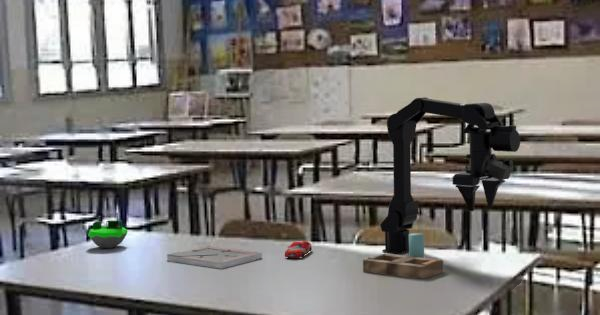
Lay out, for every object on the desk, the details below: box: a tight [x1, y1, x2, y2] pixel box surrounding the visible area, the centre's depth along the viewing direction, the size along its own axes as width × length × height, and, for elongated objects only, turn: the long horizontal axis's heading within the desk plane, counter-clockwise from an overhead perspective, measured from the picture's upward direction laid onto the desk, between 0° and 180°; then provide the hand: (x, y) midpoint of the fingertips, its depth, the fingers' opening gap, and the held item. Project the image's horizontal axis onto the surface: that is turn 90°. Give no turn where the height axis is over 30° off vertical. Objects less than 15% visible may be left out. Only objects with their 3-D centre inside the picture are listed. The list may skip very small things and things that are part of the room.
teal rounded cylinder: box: [408, 232, 425, 258], centre depth 254 cm, size 4×4×8 cm
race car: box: [284, 240, 313, 259], centre depth 272 cm, size 13×5×4 cm, turn 162°
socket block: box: [362, 252, 444, 280], centre depth 245 cm, size 18×10×3 cm, turn 51°
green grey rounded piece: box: [87, 212, 128, 249], centre depth 294 cm, size 12×12×11 cm
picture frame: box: [166, 245, 263, 269], centre depth 270 cm, size 16×2×22 cm
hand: (481, 208), depth 253 cm, fingers open, 9 cm apart
